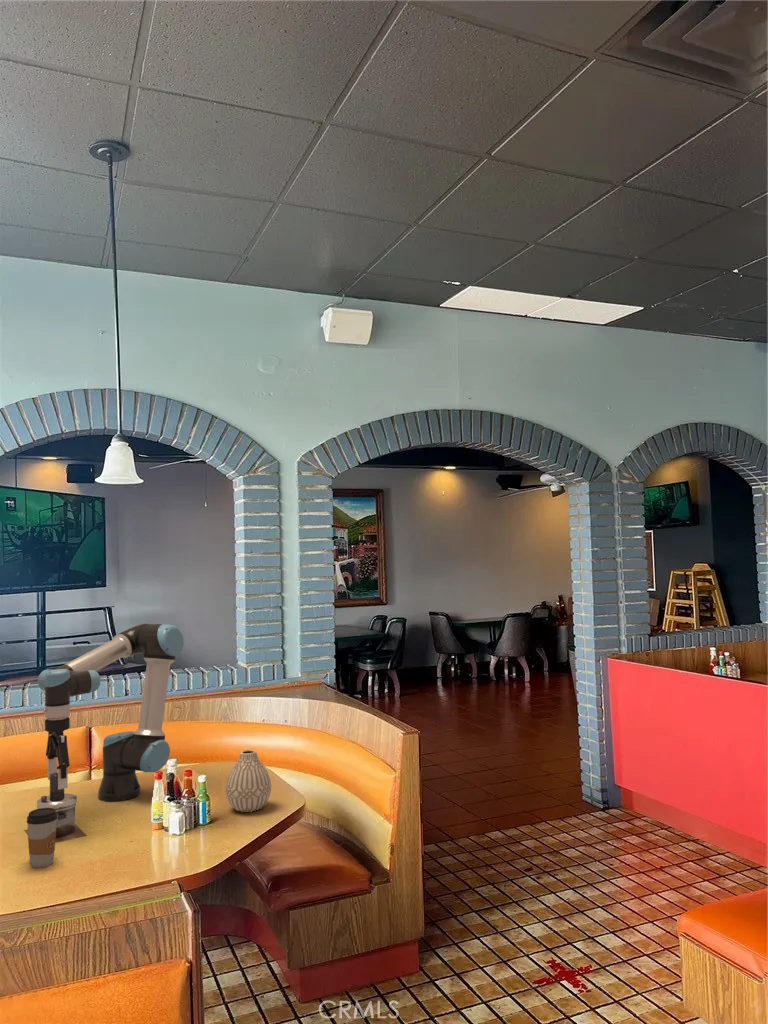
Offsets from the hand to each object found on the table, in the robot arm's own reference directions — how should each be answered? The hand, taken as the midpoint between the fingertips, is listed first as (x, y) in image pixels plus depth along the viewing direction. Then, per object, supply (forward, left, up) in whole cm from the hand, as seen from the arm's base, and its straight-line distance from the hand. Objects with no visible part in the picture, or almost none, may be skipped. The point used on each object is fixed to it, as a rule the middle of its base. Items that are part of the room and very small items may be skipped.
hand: (57, 783), depth 252 cm
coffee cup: (+10, +23, -16) cm, 30 cm away
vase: (-60, +17, -17) cm, 65 cm away
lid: (0, 0, -6) cm, 7 cm away
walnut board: (+1, 0, -16) cm, 16 cm away
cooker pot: (0, 0, -15) cm, 16 cm away
